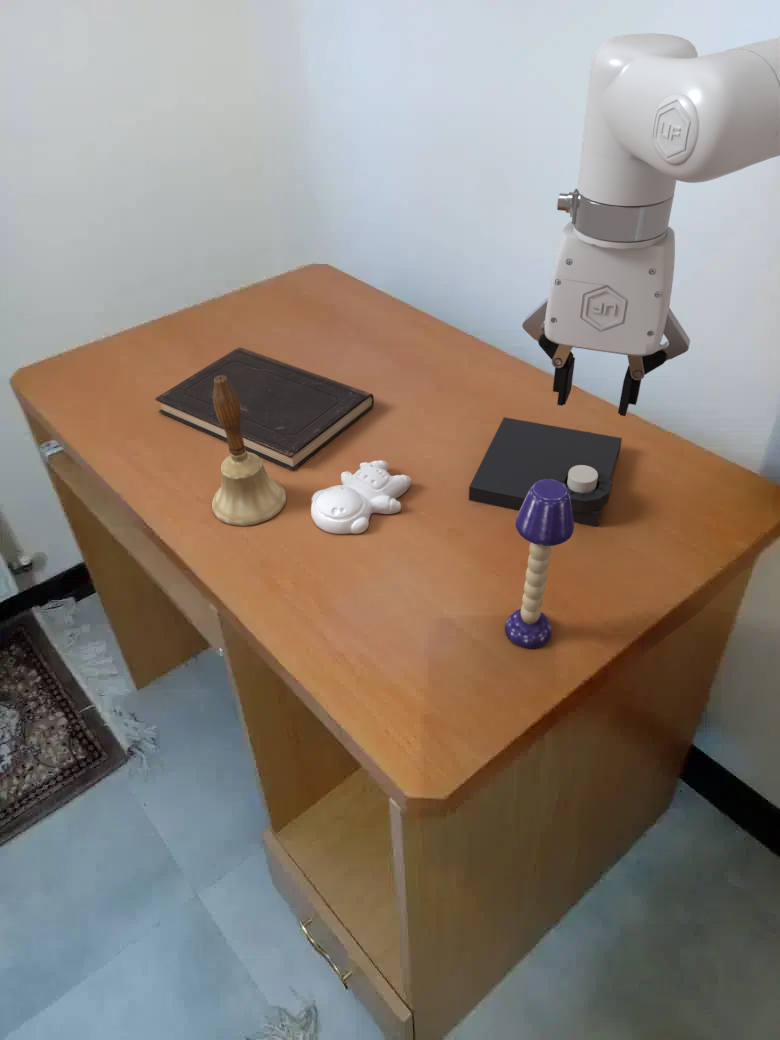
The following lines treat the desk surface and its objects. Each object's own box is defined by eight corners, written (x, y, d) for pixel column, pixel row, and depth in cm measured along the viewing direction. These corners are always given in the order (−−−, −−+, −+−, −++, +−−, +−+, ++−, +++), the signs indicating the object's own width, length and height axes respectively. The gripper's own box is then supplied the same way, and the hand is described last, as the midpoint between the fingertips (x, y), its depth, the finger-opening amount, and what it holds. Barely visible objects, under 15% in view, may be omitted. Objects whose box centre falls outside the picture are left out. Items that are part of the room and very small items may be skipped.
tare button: (598, 479, 83) (600, 467, 82) (593, 496, 81) (595, 485, 80) (570, 474, 84) (571, 462, 83) (564, 490, 82) (565, 479, 81)
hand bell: (249, 536, 84) (221, 409, 73) (196, 508, 88) (162, 384, 77) (301, 495, 89) (282, 370, 78) (249, 470, 92) (224, 348, 82)
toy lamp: (530, 603, 75) (546, 463, 64) (568, 631, 72) (591, 490, 61) (494, 629, 73) (504, 488, 62) (532, 659, 70) (549, 517, 59)
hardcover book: (293, 471, 92) (290, 455, 90) (159, 413, 102) (155, 398, 101) (374, 406, 101) (373, 391, 100) (244, 359, 112) (241, 344, 110)
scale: (623, 451, 92) (628, 426, 90) (600, 530, 82) (605, 505, 80) (502, 429, 96) (504, 405, 94) (467, 502, 86) (468, 477, 84)
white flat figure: (427, 497, 87) (426, 476, 85) (339, 546, 82) (336, 525, 80) (378, 461, 93) (377, 440, 91) (293, 505, 87) (289, 484, 85)
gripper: (507, 220, 64) (497, 409, 76) (729, 242, 59) (681, 441, 71) (529, 189, 69) (517, 370, 81) (736, 206, 64) (690, 397, 76)
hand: (593, 401), depth 76 cm, fingers open, 5 cm apart
